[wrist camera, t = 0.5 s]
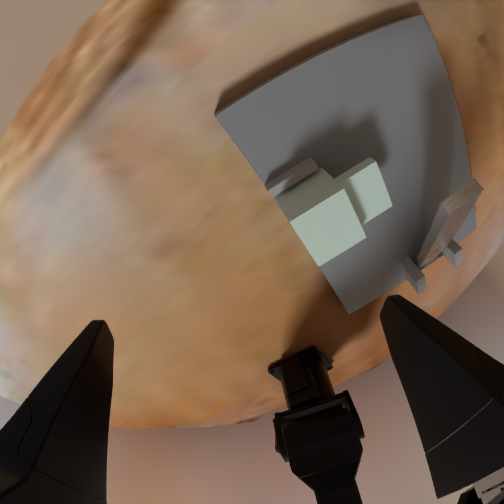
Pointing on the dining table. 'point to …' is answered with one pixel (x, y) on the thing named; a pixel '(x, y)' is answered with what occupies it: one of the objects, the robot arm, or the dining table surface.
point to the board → (365, 144)
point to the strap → (447, 223)
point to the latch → (335, 208)
